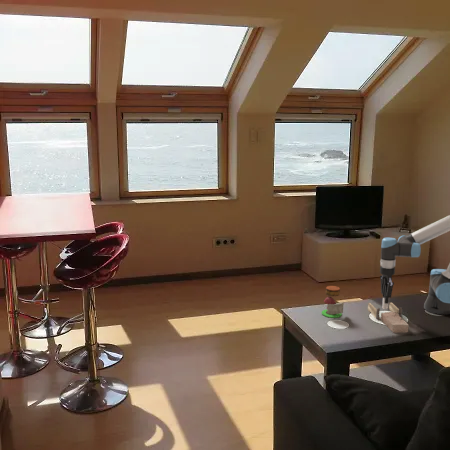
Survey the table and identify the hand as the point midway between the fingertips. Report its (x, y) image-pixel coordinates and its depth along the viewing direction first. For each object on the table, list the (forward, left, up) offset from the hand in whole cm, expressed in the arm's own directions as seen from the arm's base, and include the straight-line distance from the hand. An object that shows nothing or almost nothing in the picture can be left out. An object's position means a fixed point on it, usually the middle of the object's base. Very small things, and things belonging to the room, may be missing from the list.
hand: (385, 308), depth 269 cm
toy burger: (+30, -1, -4) cm, 30 cm away
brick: (+1, +15, -4) cm, 16 cm away
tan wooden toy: (+1, 0, -3) cm, 3 cm away
